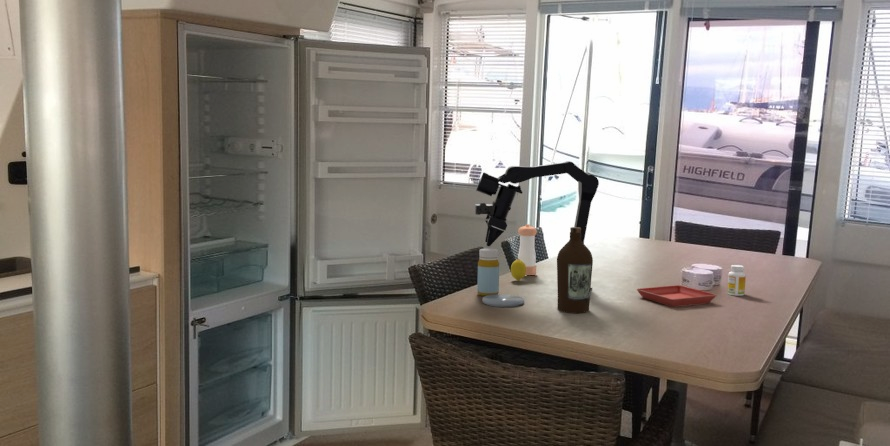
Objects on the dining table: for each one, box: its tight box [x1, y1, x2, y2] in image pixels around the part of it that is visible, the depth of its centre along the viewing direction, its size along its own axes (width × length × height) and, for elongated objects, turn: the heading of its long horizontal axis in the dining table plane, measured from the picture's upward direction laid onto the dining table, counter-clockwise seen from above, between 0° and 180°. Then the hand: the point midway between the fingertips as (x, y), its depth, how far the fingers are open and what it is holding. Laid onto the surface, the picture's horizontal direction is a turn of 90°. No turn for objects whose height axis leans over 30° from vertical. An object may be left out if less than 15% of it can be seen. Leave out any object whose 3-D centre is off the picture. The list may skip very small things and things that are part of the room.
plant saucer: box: [636, 284, 717, 308], centre depth 243 cm, size 18×18×3 cm
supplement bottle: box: [727, 264, 747, 297], centre depth 253 cm, size 5×5×10 cm
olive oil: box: [556, 226, 594, 314], centre depth 227 cm, size 11×11×25 cm
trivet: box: [482, 293, 525, 308], centre depth 237 cm, size 13×13×1 cm
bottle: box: [476, 247, 500, 297], centre depth 248 cm, size 7×7×15 cm
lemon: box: [510, 258, 526, 281], centre depth 273 cm, size 6×6×8 cm
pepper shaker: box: [517, 223, 538, 276], centre depth 285 cm, size 7×7×19 cm
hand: (487, 244), depth 257 cm, fingers open, 9 cm apart
